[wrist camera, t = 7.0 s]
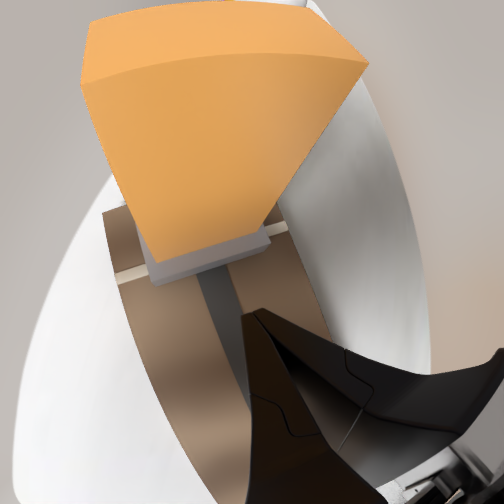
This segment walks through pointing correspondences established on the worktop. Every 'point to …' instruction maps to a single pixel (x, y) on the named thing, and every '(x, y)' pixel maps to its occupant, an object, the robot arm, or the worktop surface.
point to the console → (209, 341)
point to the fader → (211, 119)
